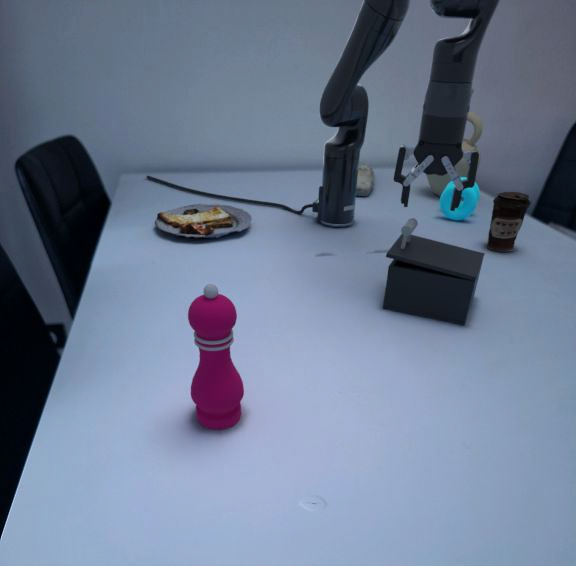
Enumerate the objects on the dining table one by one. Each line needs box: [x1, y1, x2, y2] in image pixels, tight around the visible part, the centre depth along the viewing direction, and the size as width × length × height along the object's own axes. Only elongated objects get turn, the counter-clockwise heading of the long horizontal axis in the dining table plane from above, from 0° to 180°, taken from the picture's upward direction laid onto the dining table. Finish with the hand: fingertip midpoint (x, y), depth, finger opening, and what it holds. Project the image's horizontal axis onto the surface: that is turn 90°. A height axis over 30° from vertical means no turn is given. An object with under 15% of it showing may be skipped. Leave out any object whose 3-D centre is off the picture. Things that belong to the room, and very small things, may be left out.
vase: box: [425, 88, 484, 197], centre depth 162 cm, size 17×17×30 cm
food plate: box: [154, 203, 253, 239], centre depth 139 cm, size 25×23×4 cm
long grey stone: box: [356, 161, 375, 197], centre depth 179 cm, size 35×5×10 cm
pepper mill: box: [187, 283, 245, 430], centre depth 69 cm, size 7×7×20 cm
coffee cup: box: [486, 191, 532, 253], centre depth 128 cm, size 9×8×13 cm
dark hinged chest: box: [382, 259, 484, 326], centre depth 103 cm, size 16×13×9 cm
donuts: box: [439, 177, 481, 221], centre depth 150 cm, size 10×10×10 cm
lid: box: [385, 217, 486, 281], centre depth 99 cm, size 16×13×5 cm
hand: (428, 208), depth 99 cm, fingers open, 8 cm apart
